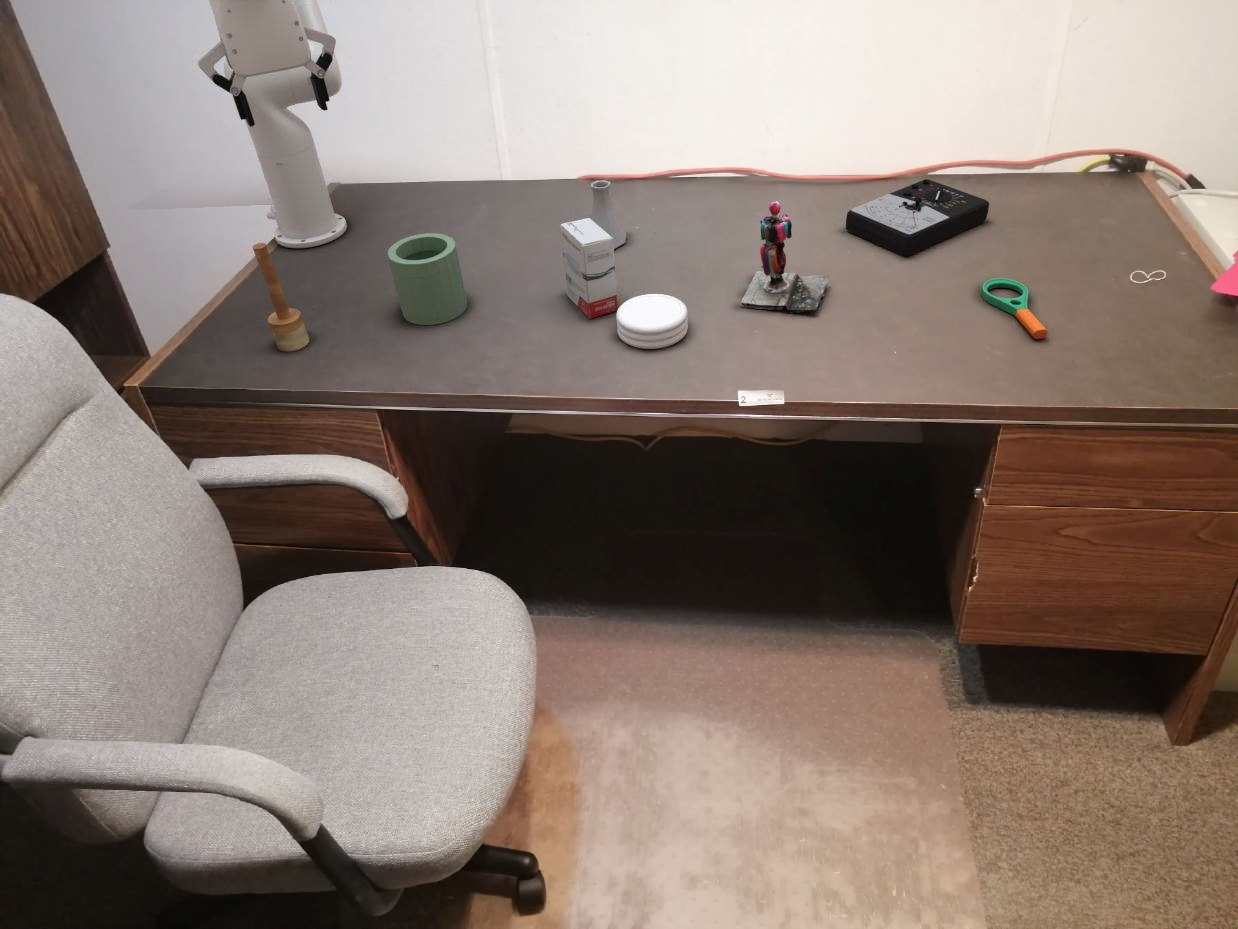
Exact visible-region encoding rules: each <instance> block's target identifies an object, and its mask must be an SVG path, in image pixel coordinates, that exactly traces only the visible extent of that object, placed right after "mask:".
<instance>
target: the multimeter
mask: <svg viewBox="0 0 1238 929" xmlns="http://www.w3.org/2000/svg"><path fill="white" fill-rule="evenodd" d="M989 210H990V202H989V201H988V200H987V199H985V198H982V197H979V196H976V195H973V194H971V193H968V192H965V191H962V190H959V189H957V188H955V187H951V186H948V185H945V184H944V183H939V182H937V181H935V180H932V179H928V178H925V179H922V180H919V181H917V182H914V183H912V184H910V185H908V186H904V187H903V188H900V189H898V190H895V191H893V192H890V193H888V194H885V195H882V196H881V197H880V196H879V197H877V198H875V199H873V200H870V201H868V202H866V203H863V204H861V205H858V206H855V207H853V208H851V209H850V210H848V211H847V212H846V218H845V230H846V231H848V232H849V233H851V234H852V235H856V236H858V237H860V238H863V239H865V240H867V241H869V242H871V243H873V244H876V245H877V246H880V247H883V248H884V249H887V250H889V251H891V252H894V253H896V254H898V255H900V256H903V257H910V256H911V255H914V254H916V253H918V252H920V251H923V250H925V249H927V248H929V247H931V246H933V245H936V244H939V243H941V242H943V241H945V240H947V239H949V238H952V237H954V236H956V235H958V234H961V233H963V232H964V231H967V230H969V229H973V228H974V227H976V226H978V225H980V224H983V223H984V222H985V221H987V217H988V214H989Z"/></svg>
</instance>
